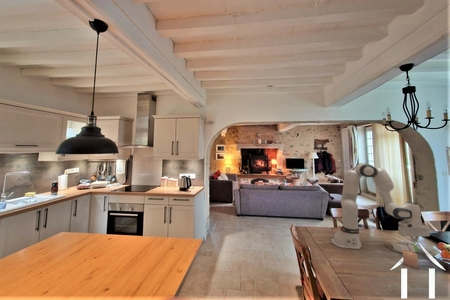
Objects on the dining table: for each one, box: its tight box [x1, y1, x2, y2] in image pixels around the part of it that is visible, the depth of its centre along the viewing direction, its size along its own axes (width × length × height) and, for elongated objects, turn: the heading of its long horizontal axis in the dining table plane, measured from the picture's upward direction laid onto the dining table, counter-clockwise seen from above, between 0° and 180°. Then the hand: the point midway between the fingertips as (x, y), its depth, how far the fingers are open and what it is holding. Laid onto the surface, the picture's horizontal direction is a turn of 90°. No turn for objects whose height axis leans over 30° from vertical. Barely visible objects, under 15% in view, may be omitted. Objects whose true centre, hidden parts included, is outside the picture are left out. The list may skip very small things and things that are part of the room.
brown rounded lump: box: [402, 250, 419, 269], centre depth 121 cm, size 7×7×8 cm
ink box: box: [391, 241, 420, 253], centre depth 136 cm, size 9×5×12 cm
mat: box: [386, 246, 425, 259], centre depth 136 cm, size 13×16×1 cm
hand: (414, 241), depth 136 cm, fingers closed
